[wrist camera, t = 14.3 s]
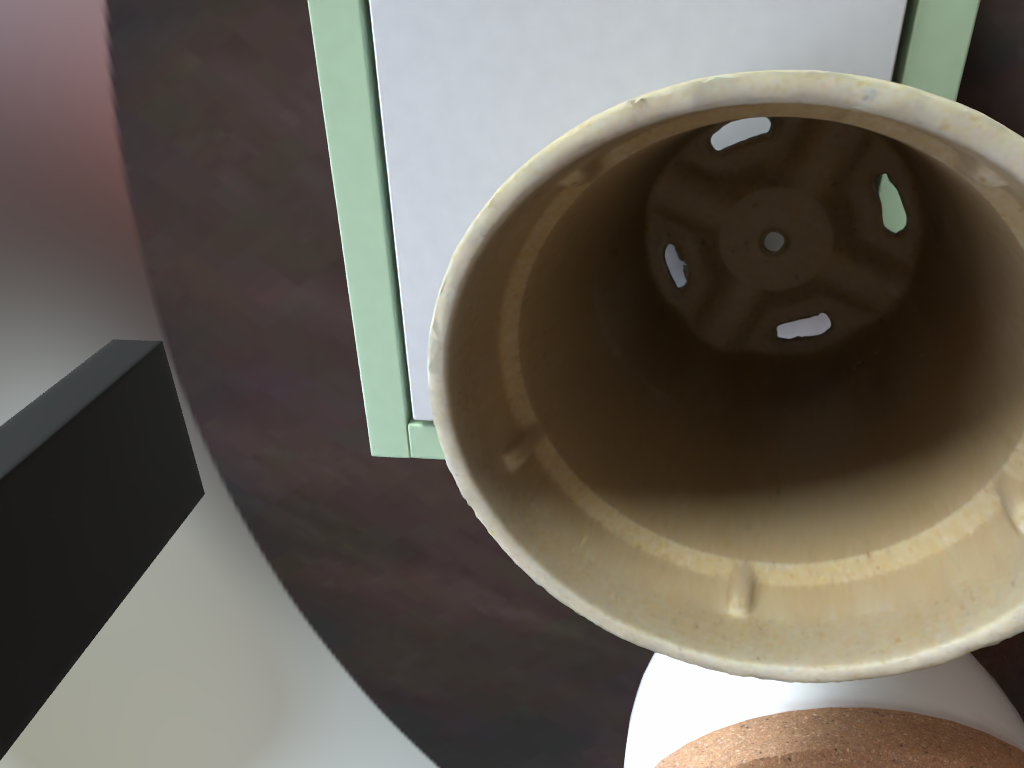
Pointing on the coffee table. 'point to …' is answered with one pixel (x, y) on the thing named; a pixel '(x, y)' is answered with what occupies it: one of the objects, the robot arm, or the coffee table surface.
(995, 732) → the lidded bowl
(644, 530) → the flower pot
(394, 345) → the scale
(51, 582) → the robot arm
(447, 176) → the pan
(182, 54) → the coffee table surface
